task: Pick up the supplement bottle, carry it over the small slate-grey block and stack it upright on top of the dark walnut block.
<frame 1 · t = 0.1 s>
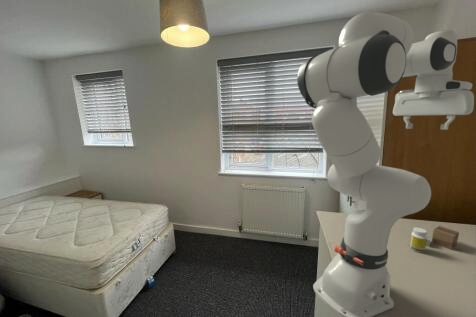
hand: (425, 129, 71), 48 cm above the table, fingers open, 8 cm apart
grey block: (423, 243, 87), on the table
supplement bottle: (416, 249, 83), on the table
walnut block: (443, 243, 86), on the table
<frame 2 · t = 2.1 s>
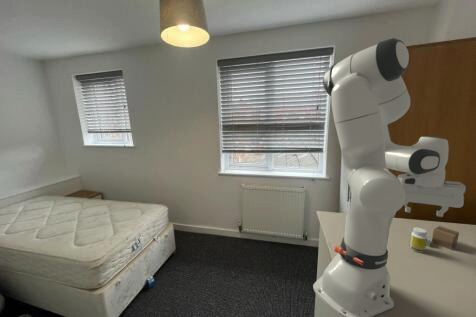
hand: (423, 213, 80), 15 cm above the table, fingers open, 8 cm apart
nothing on the table moved.
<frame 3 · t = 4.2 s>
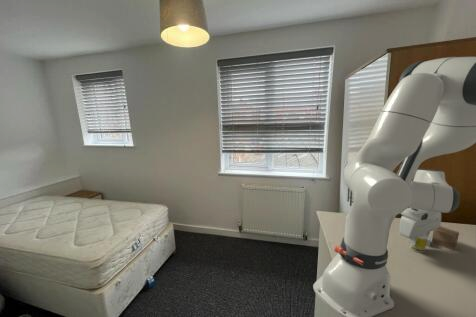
hand: (418, 242, 82), 3 cm above the table, fingers closed on supplement bottle, 5 cm apart
supplement bottle: (416, 249, 83), on the table, touching gripper
everything else where it was.
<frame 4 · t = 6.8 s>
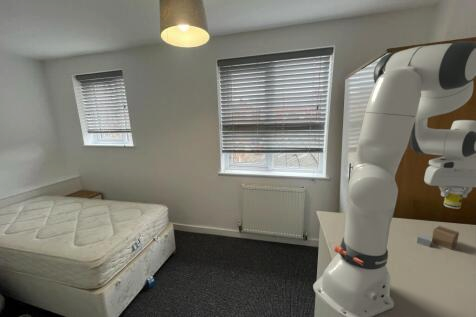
hand: (453, 196, 82), 21 cm above the table, fingers closed on supplement bottle, 5 cm apart
supplement bottle: (451, 207, 83), point 16 cm above the table, touching gripper
everything else where it was.
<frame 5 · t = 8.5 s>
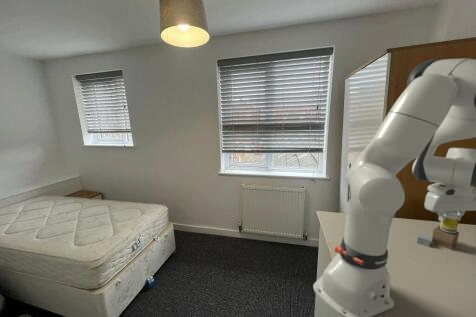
hand: (449, 220, 84), 11 cm above the table, fingers closed on supplement bottle, 5 cm apart
supplement bottle: (447, 230, 85), point 6 cm above the table, touching gripper
everything else where it was.
when the fingers open (10 cm above the table, at t = 9.4 s): supplement bottle stays where it is, resting on walnut block.
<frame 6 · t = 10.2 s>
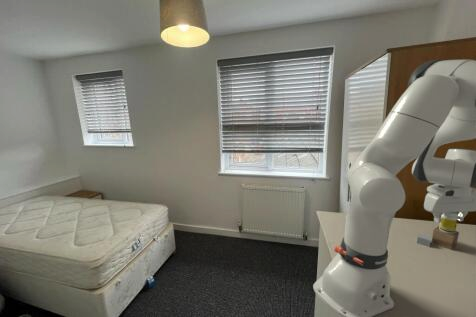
hand: (448, 221, 84), 10 cm above the table, fingers open, 8 cm apart
supplement bottle: (446, 231, 85), point 6 cm above the table, touching walnut block
walnut block: (443, 243, 86), on the table, touching supplement bottle
everything else where it was.
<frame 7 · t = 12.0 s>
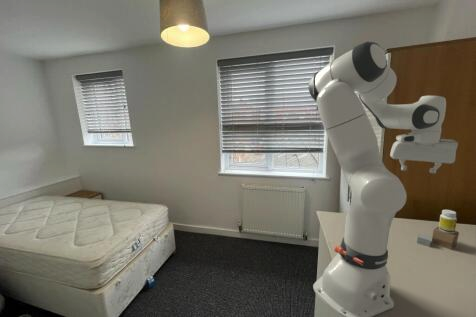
hand: (417, 171, 85), 30 cm above the table, fingers open, 8 cm apart
nothing on the table moved.
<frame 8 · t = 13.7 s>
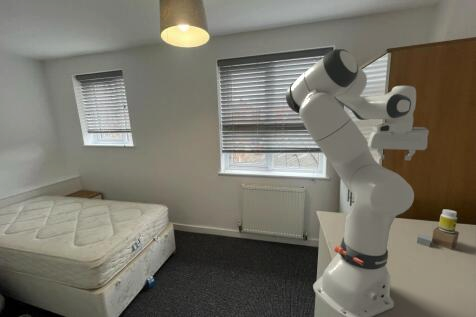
hand: (394, 159, 89), 34 cm above the table, fingers open, 8 cm apart
nothing on the table moved.
at the end: supplement bottle 0.2 cm off-centre on the walnut block, point 6.0 cm above the walnut block's base; supplement bottle tilted 4°; the gripper is holding nothing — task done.
